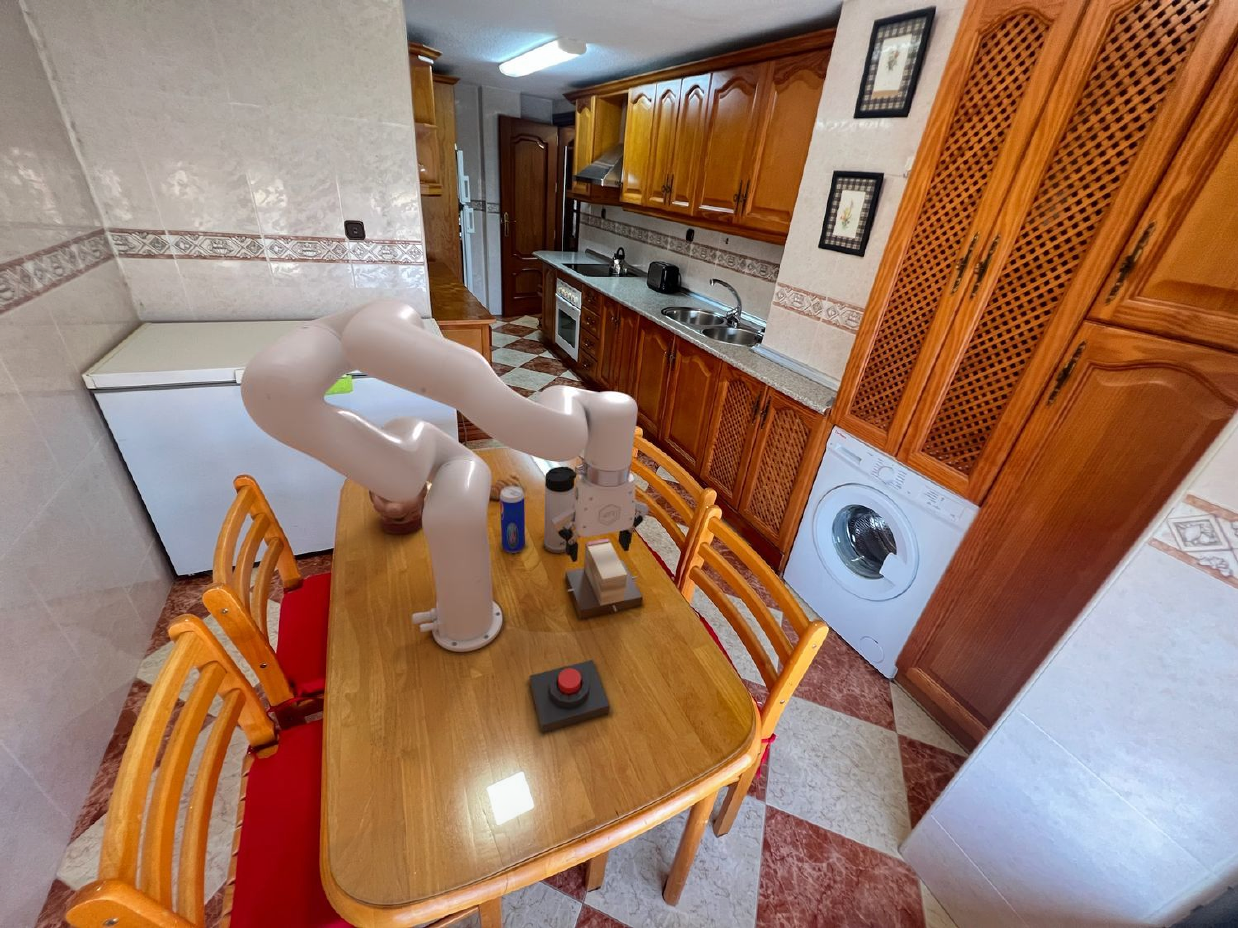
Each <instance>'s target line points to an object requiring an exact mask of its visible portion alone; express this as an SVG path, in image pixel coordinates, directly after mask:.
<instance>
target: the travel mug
mask: <svg viewBox="0 0 1238 928" xmlns="http://www.w3.org/2000/svg"><path fill="white" fill-rule="evenodd" d="M575 479H577V475H576V474H575V469H573V468H571V467H569V466H556V467H553V468H551V469H549V470H548V471H547V472H546V473H545V480H544V537H543V538H544V540H543V544H544V548H545V549H546V550H547V551H549V552H551V553H554V554H562V553H566V540H565V539H563V538H562V537H560V536H559V534H558V533H557V531H556V530H555V528H554V527H553V524H552V522H551V520H552V519H554V518H555V517H557V516H559V515H560V514H562V513H564V512H566V511H567V510H569V509H571V507H572V500H573V494H574V490H575ZM571 523H572V521H569V522H567V523H566V524H564V525H563V526H564V527H565V528H567V527H568V526H569V525H570V524H571Z"/></svg>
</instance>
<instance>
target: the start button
mask: <svg viewBox="0 0 1238 928" xmlns="http://www.w3.org/2000/svg"><path fill="white" fill-rule="evenodd" d="M580 685H581V675H580V673H579V672H578V671H577V670H575V669H572V668H568V669H564V670H563V671H562V672H561V673H560V674H559V677H558V688H559V690H560V691H561V692H562V693H564V694H566V695H572V694H574V693H576V692H577V691H578V690H579V689H580Z"/></svg>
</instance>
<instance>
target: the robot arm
mask: <svg viewBox="0 0 1238 928" xmlns="http://www.w3.org/2000/svg"><path fill="white" fill-rule="evenodd" d="M356 371H358V372H360V373H361V374H363V375H366V376H368V377H370V378H372V379H376V380H377V381H381V382H384V383H387V384H388V385H391V386H393V387H397V388H399V389H402V390H405V391H408V392H411V393H413V394H416V395H418V396H421V397H424V398H427V399H429V400H432V401H435V402H438V403H440V404H443V405H446V406H447V407H450V408H453V409H455V410H457V411H458V412H459V413H461V415H463V416H464V417H465V418H466V419H467V420H468V421H469V422H470V423H472V424H473V425H474V426H476V427H477V428H478V429H479V430H481V431H482V432H484V433H485V434H486V435H488V436H489V437H491V438H492V439H494V440H495V441H496V442H498V443H500V444H502V445H504V446H506V447H508V448H510V449H512V450H515V451H517V452H521V453H524V454H527V455H529V456H532V457H534V458H538V459H541V460H544V461H548V462H555V463H562V462H564V463H565V462H569V461H571V460H574V459H576V458H577V457H579V456H580V455H581V454H582V453H583V458H582V460H581V464H579V465H576V466H574V472H575V474H576V475H578V477H577V478H576V479H577V480H576V483H575V485H574V494H573V500H572V507H571V509H569V510H567V511H566V512H564V513H562V514H560V515H559V516H557V517H555V518H554V519H552V520H551V522H552V524H553V527H554V528H555V530H556V531H557V533H558V534H559V536H560V537H562V538H563V539H565V540H566V551H565V554H566V556H568V557H570V559H571V562H572V563H575V562H577V561H578V555H579V543H578V540H579V539H580V538H591V537H597V536H601V535H607V534H612V533H613V534H614V533H617V532H619V533H618V543H619V546H620V547H621V548H622V550H623V551H624V552H629V551H630V545H631V544H632V539H633V534H634V533H635V532H636V530H637V529H636V528H637V527H639V525H641V524H642V523H643V521H644V518H645V517H646V515H647V514H648V512H649V511H650V507H649V506H648V504H647V503H644V502H642V501H639V500H636V484H635V477H634V475H633V473H631V469H632V468H631V467H632V458H633V452H634V444H635V437H636V428H637V421H638V411H639V409H638V404H637V401H636V400H635V399H634V398H633V397H632V396H630V395H629V394H626V393H624V392H620V391H611V390H609V391H606V390H605V391H600V392H598V391H593V390H587V389H582V388H578V387H574V386H569V385H562V384H561V385H559V384H556V385H552V386H551V385H550V386H549V387H546V388H544V390H542V391H541V392H540V393H539V394H538V396H537V399H536V402H535V401H533V400H532V399H531V400H530V399H529V398H527V397H525V396H523V395H521V394H520V393H518V392H516V391H515V390H513V389H512V388H510V387H509V385H507V384H506V383H505V382H504V381H503V380H502V379H501V378H500V377H499V376H498V375H497V373H496V372H495V370H494V369H493V368H492V366H491V365H490V363H489V362H488V360H487V359H486V358H485V357H484V356H483V355H482V354H481V353H480V352H478V351H477V350H476V349H474V348H471V347H468V346H466V345H464V344H462V343H458V342H456V341H453V340H451V339H448V338H446V337H443V336H441V335H439V334H436V333H434V332H431V331H429V330H427V329H426V328H425V323H424V321H423V319H422V317H421V315H420V314H419V312H418V311H417V310H415V309H414V308H413V307H412V306H410V305H409V304H408V303H406V302H404V301H402V300H398V299H395V298H379V299H375V300H372V301H369V302H366V303H363V304H360V305H357V306H355V307H351V308H348V309H345V310H341V311H338V312H335V313H332V314H329V315H325V316H322V317H319V318H316V319H313V320H309V321H307V322H304V323H302V324H300V325H298V326H296V327H295V328H293V329H291V330H290V331H289V332H287V333H285V334H284V335H281V336H280V337H279V338H278V339H277V338H276V339H275V340H274V341H272V342H271V343H268V345H266V346H264V348H262V349H261V350H259V352H257V353H256V354H255V355H254V356H253V357H252V358H251V359H250V361H248V363H247V364H246V366H245V368H244V370H243V373H242V376H241V378H240V395H241V400H242V404H243V406H244V408H245V410H246V412H247V414H248V415H249V417H250V418H251V420H252V421H253V422H254V424H255V425H256V426H257V427H258V428H259V429H261V431H263V432H264V433H265V434H266V435H268V436H269V437H271V438H273V439H274V440H276V441H277V442H279V443H281V444H284V445H285V446H287V447H290V448H292V449H294V450H296V451H298V452H300V453H303V454H305V455H307V456H309V457H310V458H313V459H314V460H316V461H318V462H320V463H322V464H324V465H325V466H326V467H329V468H330V469H332V470H333V471H335V472H337V473H338V474H339V475H342V476H344V477H346V478H347V479H349V480H351V481H353V482H354V483H356V484H358V485H359V486H361V487H363V488H364V489H366V490H368V491H369V490H370V491H371V492H373V493H375V494H377V495H378V496H380V497H382V498H384V499H386V500H389V501H392V502H398V503H400V502H407V501H410V500H412V499H413V498H415V497H416V496H417V495H418V494H419V493H420V492H421V490H422V488H423V487H424V485H425V483H427V482H428V483H430V484H431V485H430V487H429V489H428V491H427V494H426V497H425V500H424V508H423V514H422V526H421V527H422V530H423V533H424V537H425V540H426V542H427V546H428V551H429V556H430V561H431V566H432V567H431V568H432V574H433V581H434V586H435V587H434V588H435V594H436V595H435V596H436V603H435V606H436V607H434V608H431V609H430V610H429V611H425V612H423V611H421V612H415V613H412V624H413V626H415V625H418V624H419V628H420V629H419V631H420V633H425V632H426V633H427V632H430V631H431V633H432V636H433V639H434V640H435V642H436V643H437V644H438V645H439V646H440V647H441V648H443V649H446V650H448V651H452V652H456V653H457V652H459V653H462V652H463V653H464V652H471V651H475V650H478V649H481V648H483V647H485V646H486V645H488V644H490V643H491V642H492V641H493V640H494V639H495V638H496V637H497V636H498V635H499V633H500V631H501V629H502V626H503V613H502V610H501V607H500V606H499V605H498V604H497V603H496V602H495V601H494V598H493V596H494V595H493V582H492V566H491V553H490V552H491V551H490V550H491V549H490V540H489V534H488V512H489V511H488V510H489V503H490V498H489V497H490V491H491V486H492V485H493V484H492V483H493V478H492V477H493V475H492V471H491V469H490V467H489V465H488V463H486V462H485V460H484V459H483V458H481V456H479V455H478V454H477V453H475V452H474V451H472V450H471V449H469V448H468V447H467V446H465V445H464V444H462V443H461V442H459V441H458V440H456V439H455V438H453V437H452V436H450V435H449V434H447V433H446V432H444V431H443V430H441V428H439V427H437V426H436V425H434V424H433V423H431V422H428V421H426V420H424V419H421V418H419V417H414V416H400V417H395V418H393V419H391V420H389V421H387V422H386V423H385V424H383V426H382V427H381V426H379V425H377V424H376V423H374V422H372V421H371V420H369V419H368V418H366V417H365V416H364V415H363V414H360V413H359V412H357V411H355V410H352V409H350V408H347V407H345V406H344V407H343V406H341V405H337V404H332V403H329V402H327V401H326V399H325V396H326V393H327V392H328V391H330V389H331V388H333V387H334V386H335V385H336V384H337V383H338V382H339V381H340V380H341V378H342V377H344V376H345V375H347V374H349V373H352V372H356ZM569 521H572V523H571V524H570V525H569V526H568V527H567V528H565V527H564V526H563V525H564V524H566V523H567V522H569ZM426 622H428V623H426Z"/></svg>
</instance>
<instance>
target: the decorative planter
mask: <svg viewBox="0 0 1238 928" xmlns="http://www.w3.org/2000/svg"><path fill="white" fill-rule="evenodd" d="M368 494H369V499H370V501H371V503H372V504H373V508H374V510H375V512H376V513H378V514H380V516H381V528H382V530H384V531H385V532H387V533H391V534H406V533H410V532H413V531H416V530H418V529H420V528H421V527H423V526H422V514H423V508H424V504H425V499H426V497H427V495H428V483H427V482H426V483H425V485H424V487H423V488H422V490H421V492H420V493H419V494H418V495H417V496H416V497H415V498H413V499H412V500H410V501H407V502H400V503H398V502H392V501H389V500H386V499H384V498H382V497H380V496H378V495H377V494H375V493H373V492H371V491H370V490H368Z"/></svg>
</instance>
